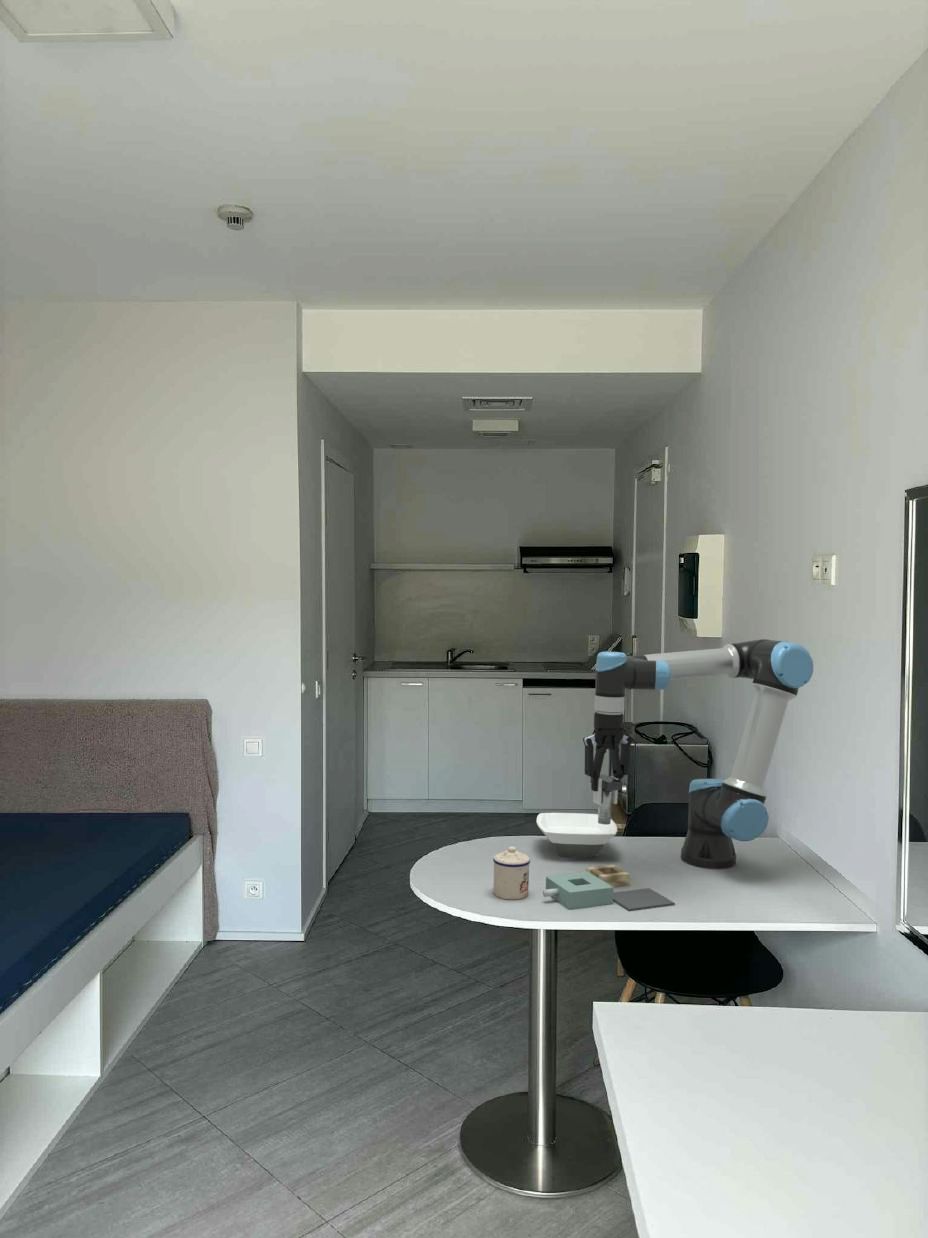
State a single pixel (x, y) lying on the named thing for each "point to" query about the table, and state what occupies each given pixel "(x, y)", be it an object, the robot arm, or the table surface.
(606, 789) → the block
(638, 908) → the mat
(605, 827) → the bowl
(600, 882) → the block
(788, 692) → the robot arm
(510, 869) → the teacup with lid
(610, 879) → the beige square frame
